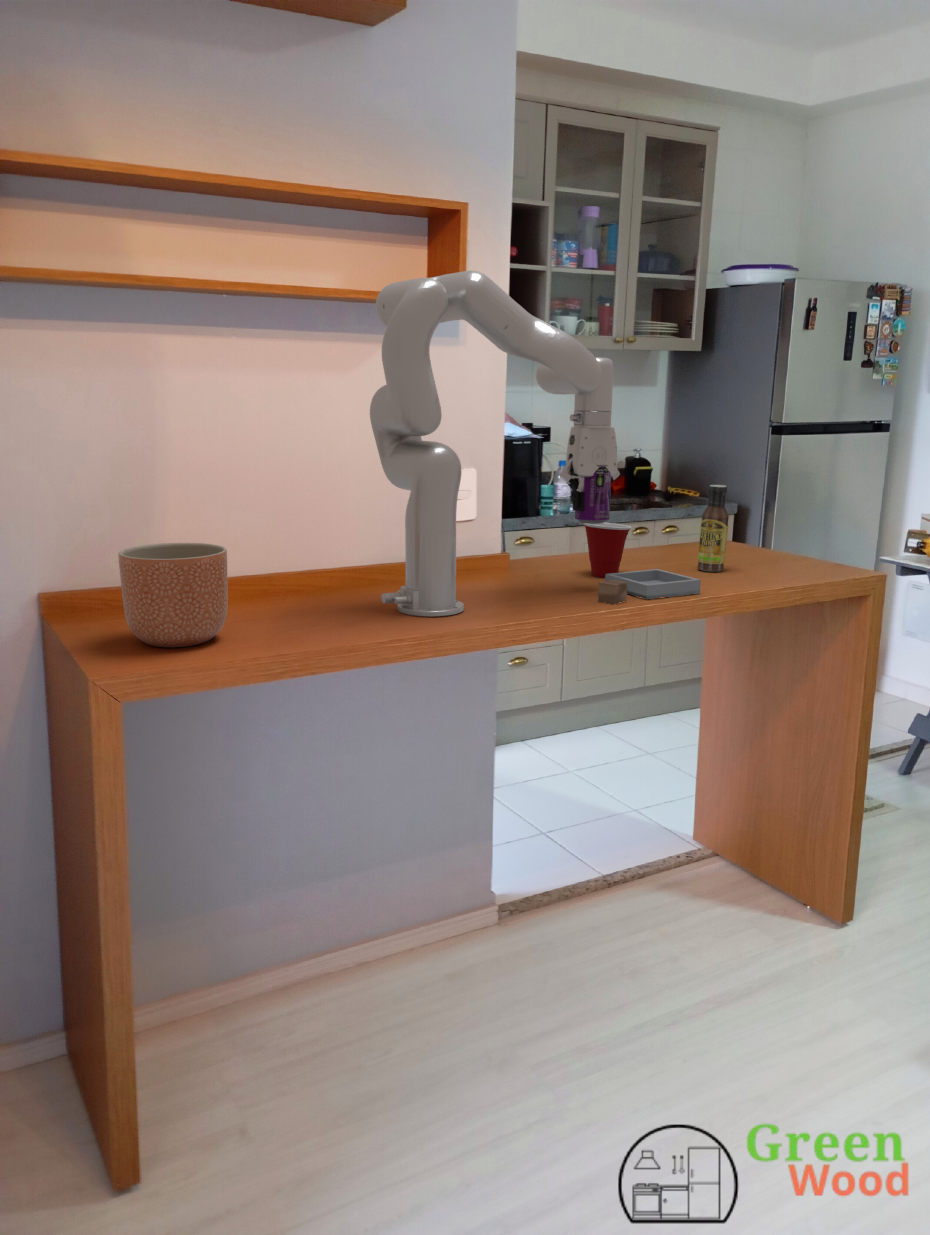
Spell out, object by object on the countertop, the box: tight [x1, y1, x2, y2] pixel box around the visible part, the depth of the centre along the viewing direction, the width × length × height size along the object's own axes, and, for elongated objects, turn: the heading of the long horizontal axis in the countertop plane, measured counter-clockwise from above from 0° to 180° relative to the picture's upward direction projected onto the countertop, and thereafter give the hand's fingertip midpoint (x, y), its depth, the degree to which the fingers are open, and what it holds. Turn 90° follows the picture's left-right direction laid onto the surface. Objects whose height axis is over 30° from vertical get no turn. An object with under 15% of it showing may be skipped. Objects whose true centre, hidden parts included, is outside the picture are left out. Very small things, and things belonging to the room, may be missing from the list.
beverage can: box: [574, 465, 612, 524], centre depth 208 cm, size 7×7×12 cm
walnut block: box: [597, 580, 628, 605], centre depth 200 cm, size 4×4×4 cm
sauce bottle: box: [697, 484, 730, 573], centre depth 234 cm, size 6×6×20 cm
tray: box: [604, 568, 702, 600], centre depth 211 cm, size 14×14×3 cm
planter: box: [118, 542, 229, 648], centre depth 166 cm, size 17×17×15 cm
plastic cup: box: [583, 521, 632, 578], centre depth 227 cm, size 11×11×12 cm
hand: (588, 509), depth 208 cm, fingers closed on beverage can, 4 cm apart
